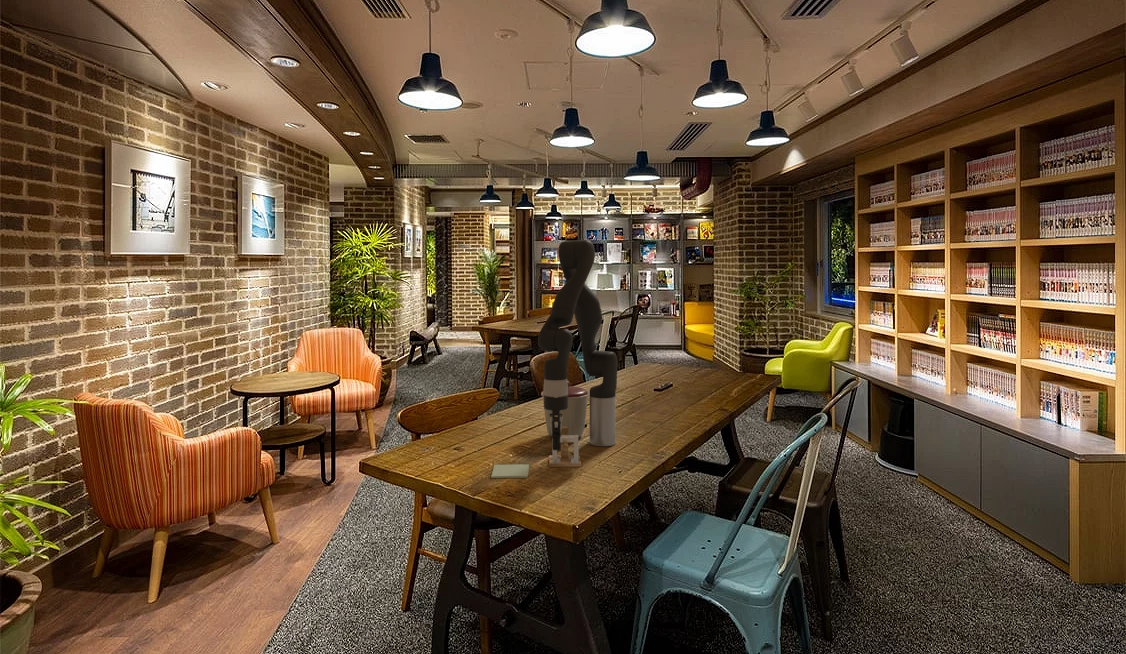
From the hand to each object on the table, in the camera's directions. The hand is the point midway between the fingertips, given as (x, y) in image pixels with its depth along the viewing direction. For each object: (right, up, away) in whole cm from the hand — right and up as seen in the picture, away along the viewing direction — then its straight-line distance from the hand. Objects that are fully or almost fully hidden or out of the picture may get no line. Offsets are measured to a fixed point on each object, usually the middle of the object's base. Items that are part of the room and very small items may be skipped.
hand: (556, 447), depth 197 cm
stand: (+3, -7, +5) cm, 9 cm away
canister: (+3, -4, +41) cm, 41 cm away
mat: (-14, -8, 0) cm, 16 cm away
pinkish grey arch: (+3, -4, +1) cm, 5 cm away
